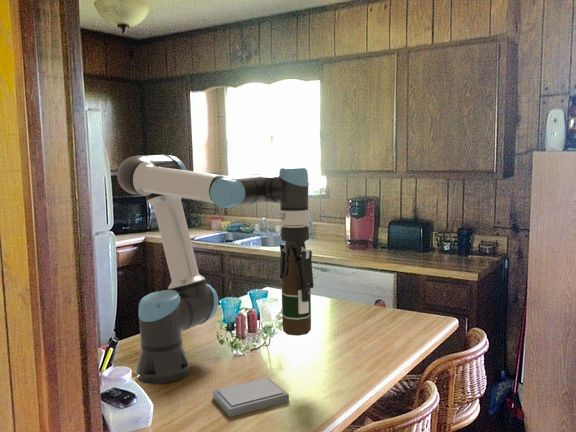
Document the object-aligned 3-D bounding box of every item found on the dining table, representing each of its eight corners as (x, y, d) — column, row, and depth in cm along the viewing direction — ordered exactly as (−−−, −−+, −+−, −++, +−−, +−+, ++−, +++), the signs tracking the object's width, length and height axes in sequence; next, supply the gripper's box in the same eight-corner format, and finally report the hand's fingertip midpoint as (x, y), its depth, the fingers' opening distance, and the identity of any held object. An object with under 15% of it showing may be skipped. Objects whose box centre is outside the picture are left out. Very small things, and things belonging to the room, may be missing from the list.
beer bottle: (310, 326, 150) (308, 241, 147) (312, 335, 142) (310, 246, 139) (282, 327, 150) (280, 242, 147) (283, 336, 142) (281, 247, 139)
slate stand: (212, 398, 139) (212, 389, 139) (268, 384, 146) (268, 376, 146) (229, 417, 128) (229, 408, 128) (289, 401, 136) (288, 392, 135)
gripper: (265, 222, 150) (267, 302, 152) (300, 231, 132) (302, 321, 135) (289, 220, 153) (291, 298, 156) (326, 228, 135) (327, 316, 138)
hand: (296, 309), depth 145 cm, fingers closed on beer bottle, 7 cm apart
